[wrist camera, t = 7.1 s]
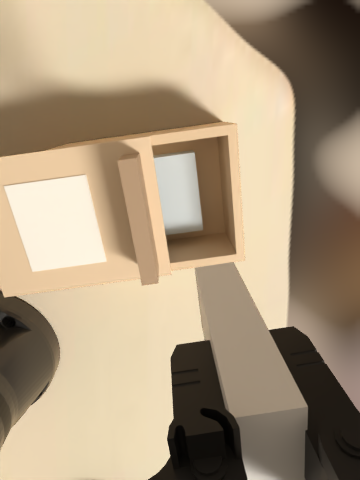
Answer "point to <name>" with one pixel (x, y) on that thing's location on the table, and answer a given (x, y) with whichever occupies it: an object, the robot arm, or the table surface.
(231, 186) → the box
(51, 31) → the table surface
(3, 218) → the lid
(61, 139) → the table surface
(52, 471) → the table surface
